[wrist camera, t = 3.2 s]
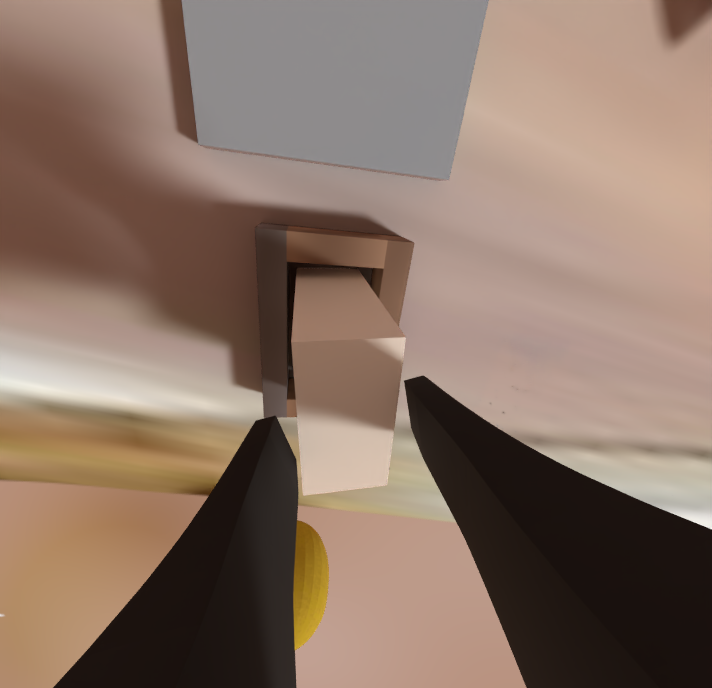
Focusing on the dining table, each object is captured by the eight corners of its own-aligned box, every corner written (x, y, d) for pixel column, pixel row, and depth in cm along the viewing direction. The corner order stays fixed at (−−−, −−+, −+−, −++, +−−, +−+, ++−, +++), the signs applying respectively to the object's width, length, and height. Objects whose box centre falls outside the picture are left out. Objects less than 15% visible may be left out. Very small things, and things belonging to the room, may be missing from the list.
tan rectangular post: (356, 267, 15) (405, 337, 8) (353, 367, 17) (387, 485, 11) (296, 267, 14) (291, 342, 7) (302, 370, 17) (303, 495, 10)
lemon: (252, 540, 24) (231, 686, 17) (255, 496, 21) (233, 645, 14) (319, 537, 25) (326, 671, 18) (329, 495, 23) (342, 631, 16)
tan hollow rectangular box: (400, 236, 14) (414, 242, 13) (374, 393, 19) (381, 414, 17) (261, 222, 13) (254, 228, 11) (267, 395, 17) (264, 417, 16)
